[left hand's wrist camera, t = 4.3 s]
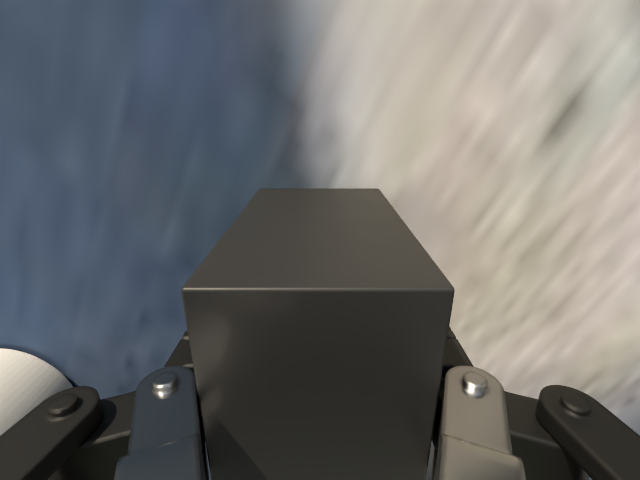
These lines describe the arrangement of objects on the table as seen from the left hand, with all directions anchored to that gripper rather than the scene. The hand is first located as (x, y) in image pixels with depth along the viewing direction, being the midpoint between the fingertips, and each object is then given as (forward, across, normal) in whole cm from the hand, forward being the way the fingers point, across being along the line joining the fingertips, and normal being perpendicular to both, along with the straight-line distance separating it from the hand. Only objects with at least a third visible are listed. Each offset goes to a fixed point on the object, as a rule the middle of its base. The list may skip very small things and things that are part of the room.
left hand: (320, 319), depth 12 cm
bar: (+5, 0, -10) cm, 11 cm away
